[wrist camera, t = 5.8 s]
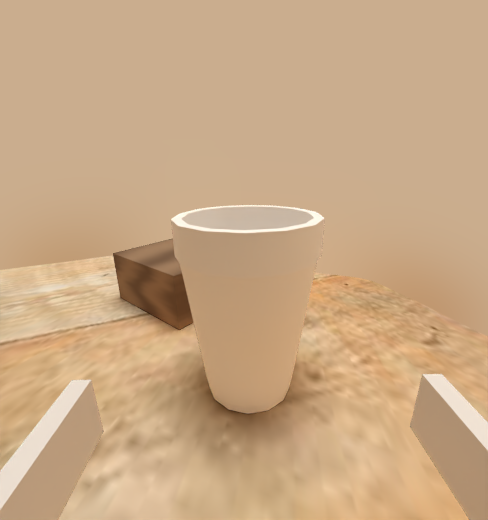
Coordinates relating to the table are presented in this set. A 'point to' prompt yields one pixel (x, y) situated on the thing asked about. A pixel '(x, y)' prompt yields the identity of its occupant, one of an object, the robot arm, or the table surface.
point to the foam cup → (248, 295)
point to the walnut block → (154, 282)
